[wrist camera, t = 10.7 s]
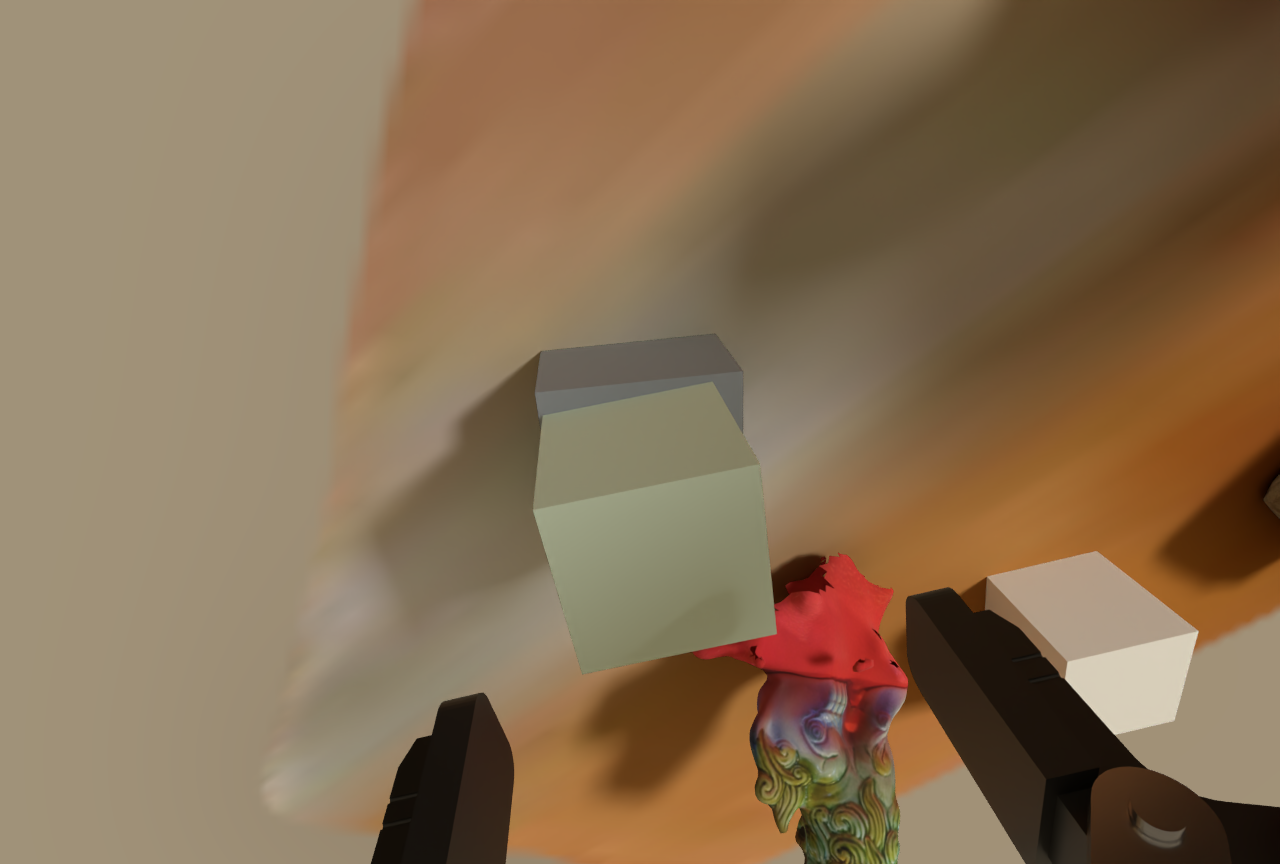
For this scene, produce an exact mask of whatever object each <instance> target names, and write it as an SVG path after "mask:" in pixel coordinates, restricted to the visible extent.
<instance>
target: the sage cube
mask: <svg viewBox="0 0 1280 864" xmlns="http://www.w3.org/2000/svg"><path fill="white" fill-rule="evenodd" d="M533 513H534V516H535V519H536V523H537V526H538V529H539V533H540V536H541V539H542V543H543V546H544V549H545V552H546V556H547V559H548V562H549V566H550V569H551V572H552V576H553V579H554V582H555V586H556V589H557V592H558V596H559V599H560V602H561V606H562V609H563V612H564V615H565V619H566V622H567V625H568V629H569V632H570V635H571V639H572V642H573V645H574V649H575V652H576V655H577V659H578V662H579V665H580V668H581V672H582V674H587V673H592V672H596V671H601V670H606V669H611V668H616V667H621V666H625V665H630V664H635V663H640V662H645V661H650V660H654V659H659V658H664V657H669V656H674V655H679V654H683V653H688V652H693V651H698V650H703V649H708V648H712V647H717V646H722V645H727V644H732V643H737V642H741V641H746V640H751V639H756V638H761V637H765V636H770V635H775V634H777V629H776V619H775V609H774V599H773V589H772V579H771V569H770V559H769V549H768V539H767V529H766V519H765V509H764V499H763V489H762V479H761V469H760V463H759V461H758V460H757V458H756V456H755V454H754V453H753V451H752V449H751V447H750V446H749V444H748V442H747V440H746V439H745V437H744V435H743V434H742V432H741V430H740V428H739V427H738V425H737V423H736V421H735V420H734V418H733V416H732V414H731V413H730V411H729V409H728V407H727V406H726V404H725V402H724V400H723V399H722V397H721V395H720V393H719V392H718V390H717V388H716V387H715V385H714V383H713V381H712V382H707V383H702V384H697V385H692V386H687V387H682V388H677V389H672V390H667V391H663V392H658V393H653V394H648V395H643V396H638V397H633V398H628V399H623V400H618V401H613V402H608V403H603V404H598V405H593V406H588V407H583V408H578V409H573V410H568V411H563V412H558V413H553V414H548V415H543V417H542V427H541V436H540V446H539V455H538V465H537V474H536V484H535V493H534V503H533Z"/></svg>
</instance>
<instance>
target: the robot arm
mask: <svg viewBox="0 0 1280 864" xmlns="http://www.w3.org/2000/svg"><path fill="white" fill-rule="evenodd" d="M906 632H907V657H908V662H909V666H910V669H911V672H912V675H913V678H914V680H915V682H916V684H917V686H918V688H919V690H920V692H921V693H922V695H923V697H924V698H925V700H926V701H927V703H928V705H929V706H930V708H931V710H932V711H933V713H934V715H935V716H936V718H937V719H938V721H939V723H940V724H941V726H942V728H943V729H944V731H945V733H946V734H947V736H948V737H949V739H950V741H951V742H952V744H953V746H954V747H955V749H956V751H957V752H958V754H959V755H960V757H961V759H962V760H963V762H964V764H965V765H966V767H967V769H968V770H969V772H970V773H971V775H972V777H973V778H974V780H975V782H976V783H977V785H978V787H979V788H980V790H981V791H982V793H983V795H984V796H985V798H986V800H987V801H988V803H989V805H990V806H991V808H992V809H993V811H994V813H995V814H996V816H997V818H998V819H999V821H1000V823H1001V824H1002V826H1003V827H1004V829H1005V831H1006V832H1007V834H1008V836H1009V837H1010V839H1011V841H1012V842H1013V844H1014V845H1015V847H1016V849H1017V850H1018V852H1019V853H1020V855H1021V857H1022V859H1023V860H1024V862H1025V863H1026V864H1280V807H1272V806H1262V805H1252V804H1242V803H1232V802H1224V801H1217V800H1212V799H1208V798H1204V797H1200V796H1198V795H1197V794H1196V793H1194V792H1193V791H1192V790H1190V789H1189V788H1188V787H1186V786H1185V785H1183V784H1181V783H1180V782H1178V781H1176V780H1174V779H1172V778H1170V777H1168V776H1166V775H1164V774H1161V773H1158V772H1155V771H1152V770H1148V769H1147V768H1146V767H1145V766H1143V765H1142V764H1141V763H1140V762H1139V761H1138V760H1137V759H1136V758H1135V757H1134V756H1133V755H1132V754H1131V753H1130V752H1129V751H1128V750H1127V748H1126V747H1125V746H1124V745H1123V744H1122V743H1121V742H1120V741H1119V739H1118V738H1117V737H1116V736H1115V735H1114V734H1113V733H1112V731H1111V730H1110V729H1109V728H1108V727H1107V726H1106V725H1105V724H1104V722H1103V721H1102V720H1101V719H1100V718H1099V717H1098V716H1097V715H1096V713H1095V712H1094V711H1093V710H1092V709H1091V708H1090V707H1089V706H1088V704H1087V703H1086V702H1085V701H1084V700H1083V699H1082V698H1081V697H1080V695H1079V694H1078V693H1077V692H1076V691H1075V690H1074V689H1073V688H1072V686H1071V685H1070V684H1069V683H1068V682H1067V681H1066V680H1065V679H1064V678H1061V677H1060V675H1059V672H1058V671H1057V670H1056V669H1055V667H1054V666H1053V665H1052V664H1051V663H1050V662H1049V661H1048V660H1047V658H1046V657H1043V656H1042V655H1041V652H1040V651H1039V649H1038V648H1037V647H1036V646H1035V645H1034V644H1033V643H1032V642H1031V640H1030V639H1029V638H1028V637H1027V636H1026V635H1025V634H1024V633H1023V631H1022V630H1021V629H1020V628H1019V627H1017V626H1016V625H1014V624H1012V623H1011V622H1009V621H1007V620H1006V619H1004V618H1002V617H1001V616H999V615H998V614H996V613H994V612H993V611H991V610H985V611H980V612H976V613H973V612H972V611H971V610H970V609H969V607H968V606H967V605H966V604H965V602H964V601H963V600H962V599H961V598H960V596H959V595H958V594H957V593H956V592H955V591H954V590H953V589H951V588H948V587H947V588H943V589H938V590H934V591H930V592H925V593H921V594H916V595H912V596H908V597H907V599H906ZM513 784H514V763H513V756H512V751H511V747H510V744H509V742H508V740H507V738H506V735H505V733H504V731H503V729H502V727H501V725H500V723H499V721H498V718H497V716H496V714H495V712H494V710H493V708H492V706H491V704H490V702H489V699H488V698H487V696H486V695H485V694H484V693H478V694H474V695H469V696H465V697H461V698H456V699H452V700H448V701H444V702H442V703H441V705H440V707H439V709H438V712H437V716H436V720H435V725H434V729H433V733H432V735H431V736H426V737H422V738H417V739H416V741H415V742H414V744H413V745H412V747H411V749H410V750H409V752H408V753H407V755H406V756H405V758H404V759H403V761H402V763H401V764H400V766H399V767H398V770H397V774H396V777H395V781H394V785H393V788H392V792H391V795H390V804H388V806H387V809H386V813H385V816H384V820H383V823H382V824H383V829H382V830H380V834H379V837H378V841H377V844H376V848H375V851H374V855H373V858H372V862H371V864H505V863H506V853H507V843H508V833H509V824H510V814H511V804H512V794H513Z"/></svg>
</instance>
